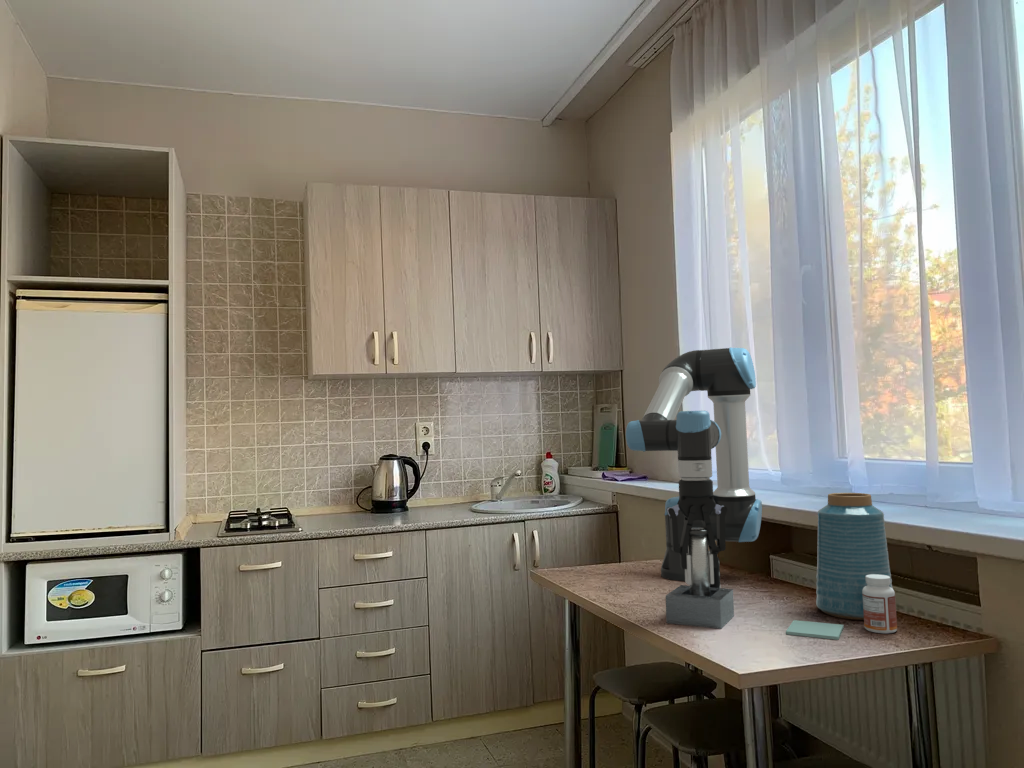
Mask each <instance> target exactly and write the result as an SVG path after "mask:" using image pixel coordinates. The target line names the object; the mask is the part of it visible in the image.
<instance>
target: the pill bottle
mask: <svg viewBox="0 0 1024 768" xmlns="http://www.w3.org/2000/svg"><path fill="white" fill-rule="evenodd" d="M866 583H867V586H865V587H864V588H863V590H862V594H863V611H864V620H863V625H864V629H865V630H866V631H869V632H871V633H876V634H884V635H885V634H894V633H895V632H897V631H898V617H897V605H896V604H897V602H896V593H895V590H894V588H893V587H892V588H893V589H892V588H891V587H889V585H890V583H891V581H890V577H889V576H887V575H879V574H871V575H866ZM891 584H892V583H891Z"/></svg>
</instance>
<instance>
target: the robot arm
mask: <svg viewBox="0 0 1024 768" xmlns="http://www.w3.org/2000/svg"><path fill="white" fill-rule="evenodd" d="M661 371H662V372H661V373H660V375H659V378H658V387H657V389H656V390H655V393H654V394H653V397H652V398H651V401H650V403H649V405H648V407H647V409H646V411H645V412H644V415H643V417H642V419H641V420H639V419H637V420H632V421H629V422H628V423H627V426H626V427H625V428H626V429H625V440H626V441H625V442H626V445H627V447H628V448H629V449H630V451H637V452H663V451H665V452H667V451H668V452H672V451H673V452H674V451H675V452H677V474H678V478H680V479H679V481H678V496H673V497H670V498H667V500H666V501H665V506H664V508H665V509H664V514H663V515H664V519H665V520H664V521H665V522H664V523H665V544H666V546H665V547H666V548H665V553H664V556H663V560H662V564H661V567H660V575H661V577H662V578H664V579H667V580H671V581H677V582H678V581H679V582H685V584H687V586H690V585H692V583H691V557H690V555H689V554H688V544H689V539H690V536H689V530H691V528H704V529H706V530H709V535H708V551H710V553H708V555H709V580H710V584H714V568H717V566H718V560H717V556H718V554H719V553H721V552H725V551H726V542H736V543H737V542H738V543H745V542H746V543H747V542H748V543H749V542H750V543H751V542H755V541H756V540H757V539H758V538H759V534H760V530H761V524H762V518H763V517H762V514H763V503H762V500H761V499H759V498H757V499H756V492H755V491H754V490H753V489H752V488H751V487H750V480H749V479H750V477H749V458H748V457H749V455H748V453H749V452H748V437H747V415H746V412H747V411H746V401H747V399H749V398H750V396H751V390H754V389H755V388H756V385H757V383H756V382H757V381H756V379H757V377H756V371H755V367H754V363H753V359H752V356H751V353H750V352H749V350H748V349H746V348H744V347H725V348H714V349H713V348H712V349H697V350H694V349H693V350H690V351H687V352H685V353H682V354H680V355H679V356H677V357H675V358H674V359H673V360H671V361H670V362H669V363H668V364H666V366H665V367H664V368H663V370H661ZM697 391H699V392H702V391H705V392H706V391H707V398H708V399H709V400H710V401H712V403H713V419H714V420H712V419H711V417H710V412H709V411H708V410H683V411H682V410H680V407H681V406H682V404H683V401H684V400H685V397H687V396H688V395H689V394H690V393H691V392H697ZM679 410H680V411H679ZM714 448H715V460H716V461H715V463H716V479H717V480H716V482H717V485H716V486H717V487H716V489H715V490H714V483H713V480H712V479H711V478H712V477H713V463H712V450H713V449H714Z"/></svg>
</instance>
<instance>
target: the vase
mask: <svg viewBox="0 0 1024 768" xmlns="http://www.w3.org/2000/svg"><path fill="white" fill-rule="evenodd" d="M885 525H886V523H885V514H884V512H883V511H882V510H880V509H879V508H878V507H875V506H874V505H873V502H872V495H871V494H869V493H862V492H861V493H860V492H832V493H828V494H827V504H826V505H825V506H823V507H822V508H820V509H818V510H817V537H816V538H817V539H816V540H817V543H816V544H817V547H816V548H817V550H816V551H817V554H816V555H817V557H816V560H817V561H816V562H817V564H816V567H817V568H816V576H815V577H816V583H815V585H816V593H815V594H816V600H815V604H816V607H817V608H818V610H820V611H821V612H823V613H824V614H827V615H828V616H831V617H836V618H840V619H844V620H845V619H847V620H856V621H857V620H858V621H860V620H861V621H864V611H863V594H862V590H863V588H864V587H865V586H867V583H866V575H871V574H879V575H887V576H889V577H890V581H891V583H890V585H889V587H891V588H892V589H893V590H894V588H893V584H892V582H893V580H892V574H891V567H890V560H889V551H888V550H889V549H888V541H887V533H886V527H885Z"/></svg>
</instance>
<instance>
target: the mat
mask: <svg viewBox="0 0 1024 768" xmlns="http://www.w3.org/2000/svg"><path fill="white" fill-rule="evenodd" d="M843 630H844V624H839V623H838V624H837V623H829V622H819V621H818V622H817V621H807V620H796V619H793V620H792V622H791V623H790V625H789V626H788V627H787V628H786V630H785V635H790V636H796V637H797V636H799V637H806V638H807V637H809V638H818V639H826V640H827V639H829V640H835V641H837V640H840V637H841V635H842V633H843Z"/></svg>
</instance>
